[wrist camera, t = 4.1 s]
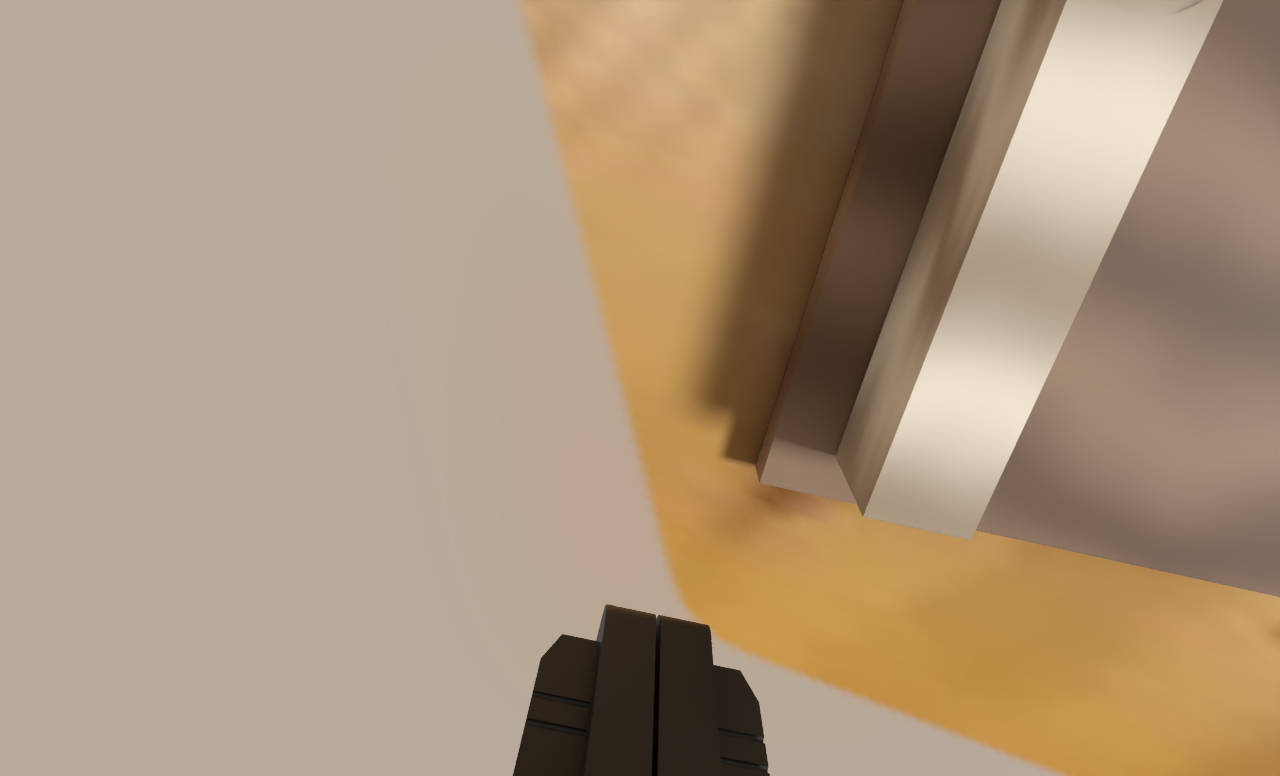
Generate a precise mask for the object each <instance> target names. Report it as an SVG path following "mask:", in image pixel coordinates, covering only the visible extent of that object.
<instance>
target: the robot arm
mask: <svg viewBox="0 0 1280 776" xmlns="http://www.w3.org/2000/svg"><path fill="white" fill-rule="evenodd" d="M763 738H764V734H763V727H762V720H761V714H760V707H759V702H758V700H757V698H756V697H755V695H754V693H753V692H752V690H751V688H750V686H749V685H748V683H747V682H746V680H745V678H744V676H743V675H742V673H741V671H740V670H735V669H730V668H725V667H720V666H716V665H713V656H712V642H711V631H710V627H709V626H708V625H705V624H700V623H695V622H690V621H686V620H681V619H675V618H671V617H665V616H661V615H659V616H658V617H657V619H656V615H655V614H651V613H646V612H640V611H636V610H632V609H626V608H622V607H616V606H612V605H606V606H605V608H604V612H603V616H602V620H601V624H600V628H599V632H598V636H597V640H596V641H592V640H588V639H583V638H578V637H573V636H569V635H563V634H562V635H561V636H560V637H559V639H558V640H557V641H556V642H555V643H554V644H553V645H552V647H551V648H550V649H549V650H548V651H547V652H546V653H545V654H544V655H543V657H542V658H541V661H540V664H539V669H538V673H537V677H536V681H535V685H534V690H533V694H532V698H531V702H530V706H529V711H528V715H527V719H526V723H525V727H524V732H523V736H522V740H521V744H520V748H519V752H518V757H517V761H516V765H515V769H514V773H513V776H770V774H769V773H768V772H767V770H768V761H767V754H766V747H765V744H764V743H763Z"/></svg>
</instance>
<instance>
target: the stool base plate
mask: <svg viewBox="0 0 1280 776" xmlns="http://www.w3.org/2000/svg"><path fill="white" fill-rule="evenodd" d="M1001 1H1002V0H904V1H903V4H902V7H901V10H900V14H899V17H898V20H897V23H896V26H895V29H894V32H893V36H892V39H891V42H890V45H889V48H888V51H887V54H886V58H885V61H884V64H883V67H882V70H881V73H880V76H879V80H878V83H877V86H876V89H875V92H874V95H873V98H872V102H871V105H870V108H869V111H868V114H867V117H866V120H865V124H864V127H863V130H862V133H861V136H860V139H859V142H858V146H857V149H856V152H855V155H854V158H853V161H852V164H851V168H850V171H849V174H848V177H847V180H846V183H845V186H844V189H843V193H842V196H841V199H840V202H839V205H838V208H837V211H836V215H835V218H834V221H833V224H832V227H831V230H830V233H829V237H828V240H827V243H826V246H825V249H824V252H823V255H822V259H821V262H820V265H819V268H818V271H817V274H816V277H815V281H814V284H813V287H812V290H811V293H810V296H809V299H808V303H807V306H806V309H805V312H804V315H803V318H802V321H801V325H800V328H799V331H798V334H797V337H796V340H795V343H794V347H793V350H792V353H791V356H790V359H789V362H788V365H787V369H786V372H785V375H784V378H783V381H782V384H781V387H780V390H779V394H778V397H777V400H776V403H775V406H774V409H773V412H772V416H771V419H770V422H769V425H768V428H767V431H766V434H765V438H764V441H763V444H762V447H761V450H760V453H759V456H758V460H757V463H756V469H757V474H758V478H759V482H760V483H762V484H767V485H772V486H776V487H781V488H785V489H790V490H794V491H799V492H804V493H808V494H813V495H817V496H822V497H826V498H831V499H835V500H840V501H845V502H849V503H854V504H857V503H856V500H855V498H854V496H853V494H852V492H851V490H850V487H849V485H848V483H847V481H846V479H845V477H844V475H843V472H842V470H841V468H840V466H839V464H838V462H837V459H836V454H837V451H838V448H839V446H840V443H841V440H842V437H843V435H844V432H845V429H846V426H847V424H848V421H849V418H850V415H851V413H852V410H853V407H854V404H855V402H856V399H857V396H858V393H859V391H860V388H861V385H862V382H863V380H864V377H865V374H866V371H867V369H868V366H869V363H870V360H871V358H872V355H873V352H874V349H875V347H876V344H877V341H878V338H879V336H880V333H881V330H882V327H883V325H884V322H885V319H886V316H887V314H888V311H889V308H890V305H891V303H892V300H893V297H894V294H895V292H896V289H897V286H898V283H899V281H900V278H901V275H902V273H903V270H904V267H905V264H906V262H907V259H908V256H909V253H910V251H911V248H912V245H913V242H914V240H915V237H916V234H917V231H918V229H919V226H920V223H921V220H922V218H923V215H924V212H925V209H926V207H927V204H928V201H929V198H930V196H931V193H932V190H933V187H934V185H935V182H936V179H937V176H938V174H939V171H940V168H941V165H942V163H943V160H944V157H945V154H946V152H947V149H948V146H949V143H950V141H951V138H952V135H953V132H954V130H955V127H956V124H957V121H958V119H959V116H960V113H961V110H962V108H963V105H964V102H965V99H966V97H967V94H968V91H969V88H970V86H971V83H972V80H973V77H974V75H975V72H976V69H977V66H978V64H979V61H980V58H981V56H982V53H983V50H984V47H985V45H986V42H987V39H988V36H989V34H990V31H991V28H992V25H993V23H994V20H995V17H996V14H997V12H998V9H999V6H1000V3H1001ZM976 530H977V531H981V532H986V533H991V534H995V535H1000V536H1004V537H1009V538H1013V539H1018V540H1022V541H1027V542H1032V543H1036V544H1041V545H1045V546H1050V547H1054V548H1059V549H1064V550H1068V551H1073V552H1077V553H1082V554H1086V555H1091V556H1095V557H1100V558H1105V559H1109V560H1114V561H1118V562H1123V563H1127V564H1132V565H1136V566H1141V567H1146V568H1150V569H1155V570H1159V571H1164V572H1168V573H1173V574H1178V575H1182V576H1187V577H1191V578H1196V579H1200V580H1205V581H1209V582H1214V583H1219V584H1223V585H1228V586H1232V587H1237V588H1241V589H1246V590H1251V591H1255V592H1260V593H1264V594H1269V595H1273V596H1278V597H1280V0H1223V2H1222V4H1221V6H1220V9H1219V11H1218V13H1217V15H1216V17H1215V19H1214V21H1213V23H1212V26H1211V28H1210V30H1209V32H1208V34H1207V36H1206V38H1205V41H1204V43H1203V45H1202V47H1201V49H1200V51H1199V53H1198V56H1197V58H1196V60H1195V62H1194V64H1193V66H1192V68H1191V71H1190V73H1189V75H1188V77H1187V79H1186V81H1185V83H1184V86H1183V88H1182V90H1181V92H1180V94H1179V96H1178V98H1177V100H1176V103H1175V105H1174V107H1173V109H1172V111H1171V113H1170V115H1169V118H1168V120H1167V122H1166V124H1165V126H1164V128H1163V130H1162V133H1161V135H1160V137H1159V139H1158V141H1157V143H1156V145H1155V148H1154V150H1153V152H1152V154H1151V156H1150V158H1149V160H1148V163H1147V165H1146V167H1145V169H1144V171H1143V173H1142V175H1141V177H1140V180H1139V182H1138V184H1137V186H1136V188H1135V190H1134V192H1133V195H1132V197H1131V199H1130V201H1129V203H1128V205H1127V207H1126V210H1125V212H1124V214H1123V216H1122V218H1121V220H1120V222H1119V225H1118V227H1117V229H1116V231H1115V233H1114V235H1113V237H1112V240H1111V242H1110V244H1109V246H1108V248H1107V250H1106V252H1105V254H1104V257H1103V259H1102V261H1101V263H1100V265H1099V267H1098V269H1097V272H1096V274H1095V276H1094V278H1093V280H1092V282H1091V284H1090V287H1089V289H1088V291H1087V293H1086V295H1085V297H1084V299H1083V302H1082V304H1081V306H1080V308H1079V310H1078V312H1077V314H1076V317H1075V319H1074V321H1073V323H1072V325H1071V327H1070V329H1069V331H1068V334H1067V336H1066V338H1065V340H1064V342H1063V344H1062V346H1061V349H1060V351H1059V353H1058V355H1057V357H1056V359H1055V361H1054V364H1053V366H1052V368H1051V370H1050V372H1049V374H1048V376H1047V379H1046V381H1045V383H1044V385H1043V387H1042V389H1041V391H1040V394H1039V396H1038V398H1037V400H1036V402H1035V404H1034V406H1033V409H1032V411H1031V413H1030V415H1029V417H1028V419H1027V421H1026V423H1025V426H1024V428H1023V430H1022V432H1021V434H1020V436H1019V438H1018V441H1017V443H1016V445H1015V447H1014V449H1013V451H1012V453H1011V456H1010V458H1009V460H1008V462H1007V464H1006V466H1005V468H1004V471H1003V473H1002V475H1001V477H1000V479H999V481H998V483H997V486H996V488H995V490H994V492H993V494H992V496H991V498H990V500H989V503H988V505H987V507H986V509H985V511H984V513H983V515H982V518H981V520H980V522H979V524H978V526H977V528H976Z"/></svg>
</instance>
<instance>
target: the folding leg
mask: <svg viewBox="0 0 1280 776" xmlns="http://www.w3.org/2000/svg"><path fill="white" fill-rule="evenodd" d="M1222 2H1223V0H1002V1H1001V3H1000V6H999V9H998V12H997V14H996V17H995V20H994V23H993V25H992V28H991V31H990V34H989V36H988V39H987V42H986V45H985V47H984V50H983V53H982V56H981V58H980V61H979V64H978V66H977V69H976V72H975V75H974V77H973V80H972V83H971V86H970V88H969V91H968V94H967V97H966V99H965V102H964V105H963V108H962V110H961V113H960V116H959V119H958V121H957V124H956V127H955V130H954V132H953V135H952V138H951V141H950V143H949V146H948V149H947V152H946V154H945V157H944V160H943V163H942V165H941V168H940V171H939V174H938V176H937V179H936V182H935V185H934V187H933V190H932V193H931V196H930V198H929V201H928V204H927V207H926V209H925V212H924V215H923V218H922V220H921V223H920V226H919V229H918V231H917V234H916V237H915V240H914V242H913V245H912V248H911V251H910V253H909V256H908V259H907V262H906V264H905V267H904V270H903V273H902V275H901V278H900V281H899V283H898V286H897V289H896V292H895V294H894V297H893V300H892V303H891V305H890V308H889V311H888V314H887V316H886V319H885V322H884V325H883V327H882V330H881V333H880V336H879V338H878V341H877V344H876V347H875V349H874V352H873V355H872V358H871V360H870V363H869V366H868V369H867V371H866V374H865V377H864V380H863V382H862V385H861V388H860V391H859V393H858V396H857V399H856V402H855V404H854V407H853V410H852V413H851V415H850V418H849V421H848V424H847V426H846V429H845V432H844V435H843V437H842V440H841V443H840V446H839V448H838V451H837V454H836V459H837V462H838V464H839V466H840V468H841V470H842V472H843V475H844V477H845V479H846V481H847V483H848V485H849V487H850V490H851V492H852V494H853V496H854V498H855V500H856V503H857V505H858V507H859V509H860V511H861V513H862V516H863V517H867V518H871V519H876V520H880V521H885V522H890V523H894V524H899V525H903V526H908V527H912V528H917V529H922V530H926V531H931V532H935V533H940V534H944V535H949V536H954V537H958V538H963V539H967V540H971V539H972V537H973V535H974V533H975V530H976V528H977V526H978V524H979V522H980V520H981V518H982V515H983V513H984V511H985V509H986V507H987V505H988V503H989V500H990V498H991V496H992V494H993V492H994V490H995V488H996V486H997V483H998V481H999V479H1000V477H1001V475H1002V473H1003V471H1004V468H1005V466H1006V464H1007V462H1008V460H1009V458H1010V456H1011V453H1012V451H1013V449H1014V447H1015V445H1016V443H1017V441H1018V438H1019V436H1020V434H1021V432H1022V430H1023V428H1024V426H1025V423H1026V421H1027V419H1028V417H1029V415H1030V413H1031V411H1032V409H1033V406H1034V404H1035V402H1036V400H1037V398H1038V396H1039V394H1040V391H1041V389H1042V387H1043V385H1044V383H1045V381H1046V379H1047V376H1048V374H1049V372H1050V370H1051V368H1052V366H1053V364H1054V361H1055V359H1056V357H1057V355H1058V353H1059V351H1060V349H1061V346H1062V344H1063V342H1064V340H1065V338H1066V336H1067V334H1068V331H1069V329H1070V327H1071V325H1072V323H1073V321H1074V319H1075V317H1076V314H1077V312H1078V310H1079V308H1080V306H1081V304H1082V302H1083V299H1084V297H1085V295H1086V293H1087V291H1088V289H1089V287H1090V284H1091V282H1092V280H1093V278H1094V276H1095V274H1096V272H1097V269H1098V267H1099V265H1100V263H1101V261H1102V259H1103V257H1104V254H1105V252H1106V250H1107V248H1108V246H1109V244H1110V242H1111V240H1112V237H1113V235H1114V233H1115V231H1116V229H1117V227H1118V225H1119V222H1120V220H1121V218H1122V216H1123V214H1124V212H1125V210H1126V207H1127V205H1128V203H1129V201H1130V199H1131V197H1132V195H1133V192H1134V190H1135V188H1136V186H1137V184H1138V182H1139V180H1140V177H1141V175H1142V173H1143V171H1144V169H1145V167H1146V165H1147V163H1148V160H1149V158H1150V156H1151V154H1152V152H1153V150H1154V148H1155V145H1156V143H1157V141H1158V139H1159V137H1160V135H1161V133H1162V130H1163V128H1164V126H1165V124H1166V122H1167V120H1168V118H1169V115H1170V113H1171V111H1172V109H1173V107H1174V105H1175V103H1176V100H1177V98H1178V96H1179V94H1180V92H1181V90H1182V88H1183V86H1184V83H1185V81H1186V79H1187V77H1188V75H1189V73H1190V71H1191V68H1192V66H1193V64H1194V62H1195V60H1196V58H1197V56H1198V53H1199V51H1200V49H1201V47H1202V45H1203V43H1204V41H1205V38H1206V36H1207V34H1208V32H1209V30H1210V28H1211V26H1212V23H1213V21H1214V19H1215V17H1216V15H1217V13H1218V11H1219V9H1220V6H1221V4H1222Z"/></svg>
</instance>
